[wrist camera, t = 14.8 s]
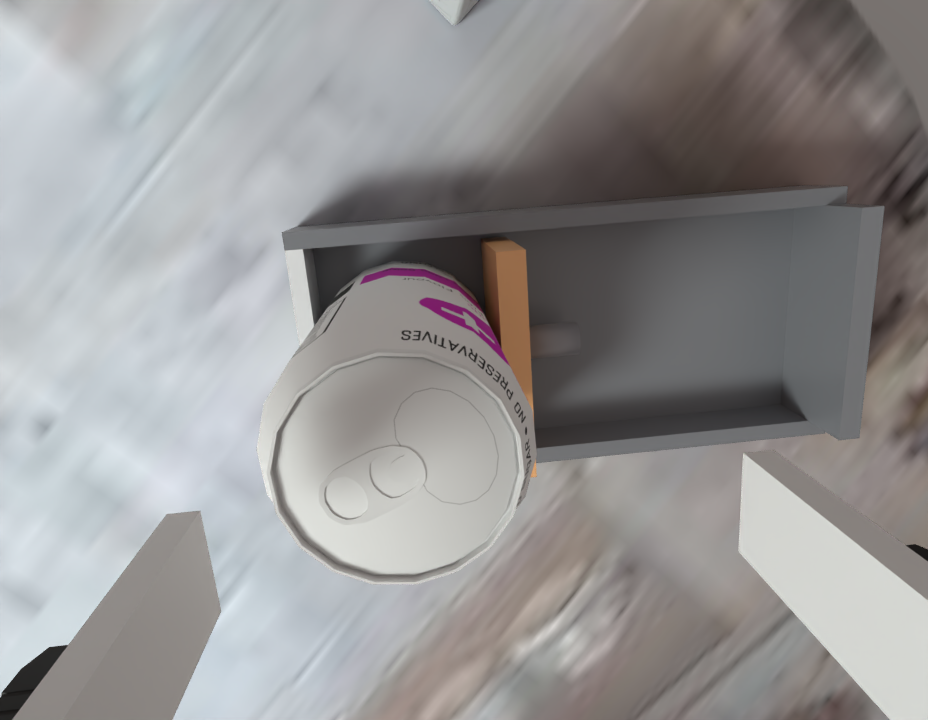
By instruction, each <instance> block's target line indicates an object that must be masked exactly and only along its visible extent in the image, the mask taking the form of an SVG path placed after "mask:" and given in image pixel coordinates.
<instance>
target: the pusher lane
mask: <svg viewBox="0 0 928 720" xmlns="http://www.w3.org/2000/svg"><path fill="white" fill-rule="evenodd" d="M847 191H848V186H812V185H802V186H789V187H777V188H765V189H753V190H741V191H728V192H716V193H704V194H692V195H679V196H667V197H655V198H643V199H630V200H618V201H606V202H594V203H581V204H569V205H557V206H545V207H532V208H520V209H508V210H496V211H483V212H471V213H459V214H447V215H435V216H422V217H410V218H398V219H386V220H373V221H361V222H349V223H337V224H324V225H312V226H300V227H294V228H292V229H289V230H287V231H284V232H282V236H283V243H284V249H285V256H286V262H287V269H288V275H289V282H290V288H291V295H292V301H293V308H294V314H295V321H296V327H297V334H298V340H299V347H300V346H301V344H302V343H303V341H304V340H305V339H306V337H307V336H308V334H309V333H310V331H311V330H312V329H313V327H314V326H315V324H316V323H317V322H318V320H319V319H320V317H321V316H322V315H323V313H324V312H325V310H326V309H327V308H328V306H329V305H330V303H331V302H332V300H333V299H334V298H335V296H336V295H337V293H338V292H339V291H340V289H341V288H342V287H344V286H345V285H346V284H347V283H349V282H350V281H351V280H353V279H354V278H355V277H356V276H358V275H359V274H360V273H361V272H363V271H364V270H367V269H370V268H373V267H376V266H379V265H382V264H385V263H389V262H392V261H406V262H424V263H427V264H429V265H432V266H434V267H436V268H439V269H441V270H444V271H446V272H449V273H451V274H452V275H454V276H455V277H456V278H457V279H458V280H459V281H460V282H461V283H462V284H463V285H464V286H466V287H467V288H468V289H469V290H470V291H471V292H472V293H473V294H474V296H475V298H476V300H477V302H478V304H479V306H480V307H481V309H482V311H483V313H484V315H485V317H486V310H485V296H484V281H483V266H482V251H481V238H493V237H507V238H508V239H510V240H511V241H513V242H515V243H516V244H518V245H519V246H521V247H523V248H524V249H526V266H527V287H528V308H529V326H533V325H544V324H555V323H566V322H577V324H578V327H579V331H580V339H581V348H580V353H579V354H576V355H565V356H555V357H544V358H534V359H531V371H532V392H533V413H534V431H535V441H536V451H537V456H536V463H541V462H551V461H561V460H571V459H580V458H590V457H600V456H610V455H619V454H629V453H639V452H649V451H658V450H668V449H678V448H688V447H697V446H707V445H717V444H726V443H736V442H746V441H756V440H765V439H775V438H785V437H795V436H804V435H814V434H824V433H825V432H827V433H828V434H830V435H832V436H833V437H835V438H836V439H838V440H846V439H855V438H859V437H860V428H861V418H862V409H863V400H864V391H865V382H866V372H867V363H868V354H869V345H870V336H871V326H872V317H873V308H874V299H875V290H876V281H877V271H878V262H879V253H880V244H881V235H882V225H883V216H884V207H885V206H878V205H860V204H846V202H847Z"/></svg>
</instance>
